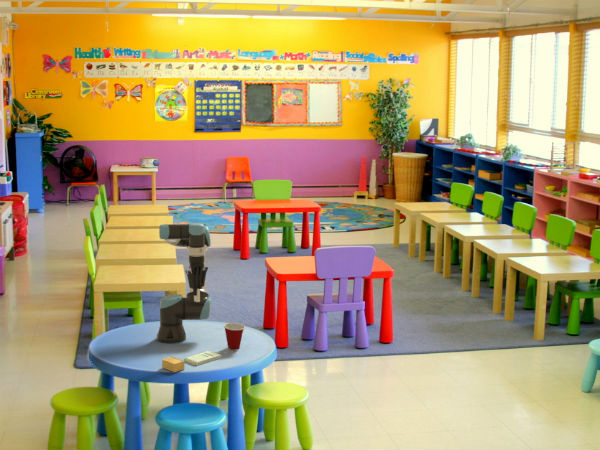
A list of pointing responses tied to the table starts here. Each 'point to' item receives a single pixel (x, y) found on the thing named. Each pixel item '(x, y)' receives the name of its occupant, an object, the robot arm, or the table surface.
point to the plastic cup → (234, 335)
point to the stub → (173, 364)
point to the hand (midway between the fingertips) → (196, 301)
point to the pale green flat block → (202, 358)
